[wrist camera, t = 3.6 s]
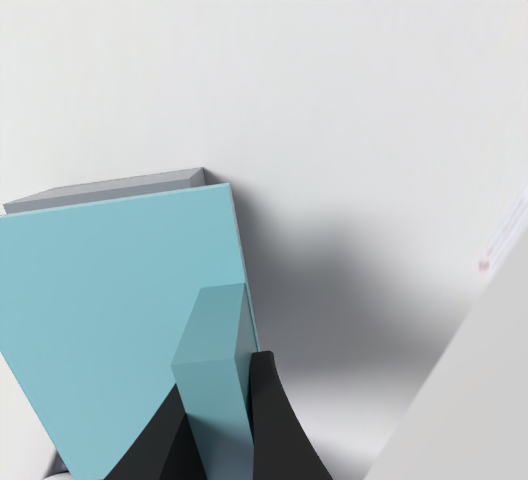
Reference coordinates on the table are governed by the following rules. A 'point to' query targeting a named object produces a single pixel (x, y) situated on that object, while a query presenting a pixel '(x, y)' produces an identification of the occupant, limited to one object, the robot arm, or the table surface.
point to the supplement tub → (62, 477)
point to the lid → (132, 324)
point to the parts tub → (109, 190)
